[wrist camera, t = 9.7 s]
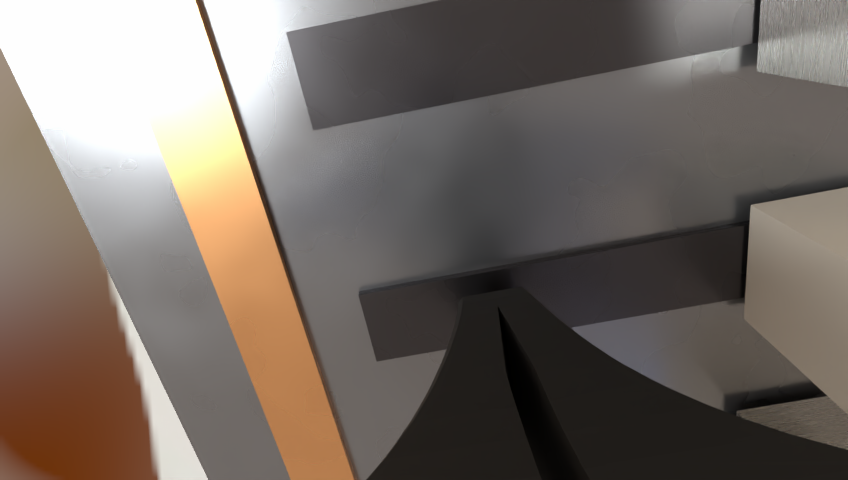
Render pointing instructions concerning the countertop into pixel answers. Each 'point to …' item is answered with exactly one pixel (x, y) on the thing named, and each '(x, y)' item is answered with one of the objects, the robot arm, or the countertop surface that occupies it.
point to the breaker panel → (430, 194)
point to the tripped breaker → (803, 284)
